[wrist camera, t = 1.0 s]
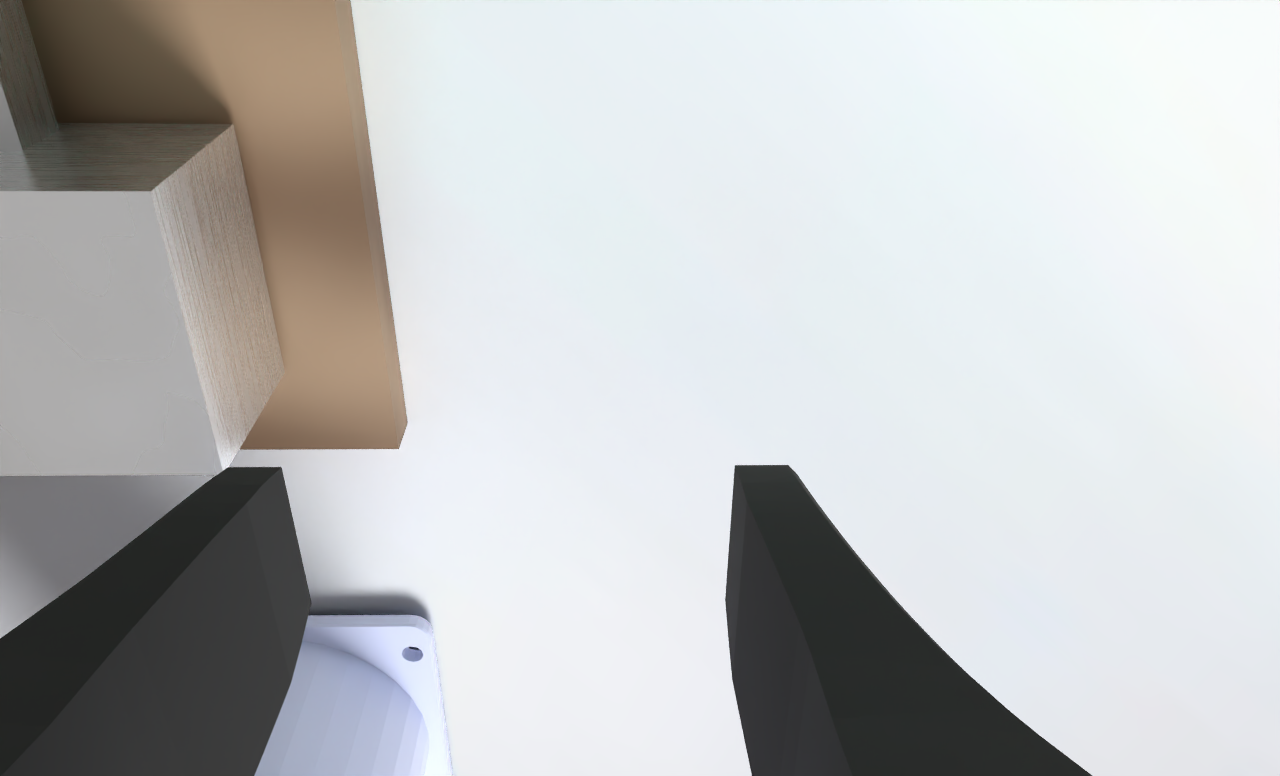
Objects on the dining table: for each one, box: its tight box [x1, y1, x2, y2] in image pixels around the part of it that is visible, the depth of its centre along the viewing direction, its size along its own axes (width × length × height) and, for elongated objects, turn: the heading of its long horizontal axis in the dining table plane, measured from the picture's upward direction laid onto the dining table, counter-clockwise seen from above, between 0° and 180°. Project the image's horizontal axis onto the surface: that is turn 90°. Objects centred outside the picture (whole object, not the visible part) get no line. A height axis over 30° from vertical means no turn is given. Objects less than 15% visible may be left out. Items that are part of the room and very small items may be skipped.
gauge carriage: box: [0, 0, 285, 476], centre depth 16 cm, size 9×4×4 cm, turn 179°
